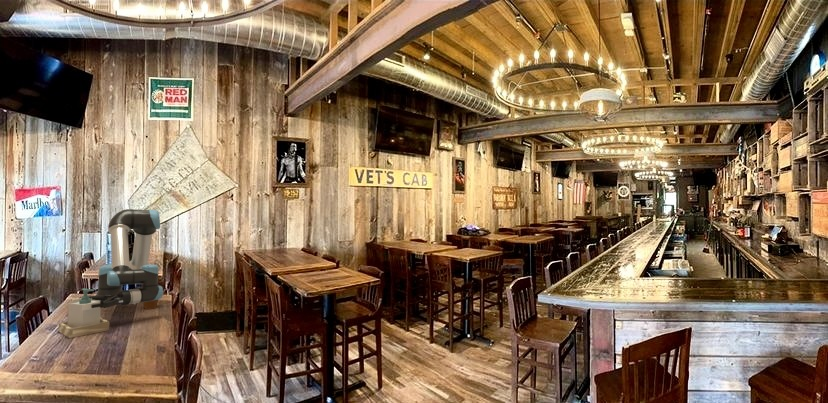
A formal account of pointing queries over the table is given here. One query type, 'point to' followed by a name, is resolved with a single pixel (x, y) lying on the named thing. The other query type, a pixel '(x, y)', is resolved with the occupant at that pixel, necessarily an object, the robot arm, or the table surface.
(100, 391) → the table surface
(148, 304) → the disposable coffee cup
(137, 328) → the table surface
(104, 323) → the caddy
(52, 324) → the table surface
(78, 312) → the soap bottle
